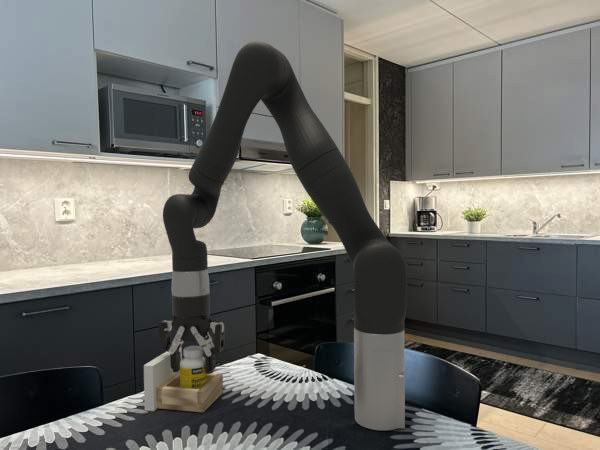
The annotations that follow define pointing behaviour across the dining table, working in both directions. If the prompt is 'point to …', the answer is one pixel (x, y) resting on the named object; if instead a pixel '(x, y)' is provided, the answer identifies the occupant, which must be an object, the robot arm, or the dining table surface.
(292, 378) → the dining table surface
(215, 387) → the socket block
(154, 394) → the backstop board
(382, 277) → the robot arm
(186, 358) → the supplement bottle
